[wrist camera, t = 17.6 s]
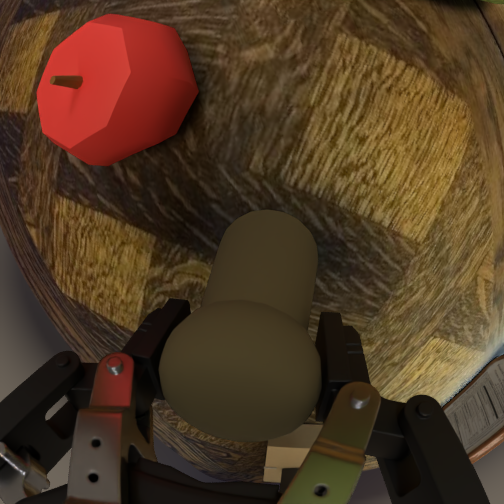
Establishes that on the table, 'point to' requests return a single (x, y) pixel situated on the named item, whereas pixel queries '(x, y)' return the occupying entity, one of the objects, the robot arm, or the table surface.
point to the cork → (249, 335)
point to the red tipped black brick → (287, 478)
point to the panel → (289, 451)
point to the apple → (115, 89)
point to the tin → (480, 411)
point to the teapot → (495, 1)
